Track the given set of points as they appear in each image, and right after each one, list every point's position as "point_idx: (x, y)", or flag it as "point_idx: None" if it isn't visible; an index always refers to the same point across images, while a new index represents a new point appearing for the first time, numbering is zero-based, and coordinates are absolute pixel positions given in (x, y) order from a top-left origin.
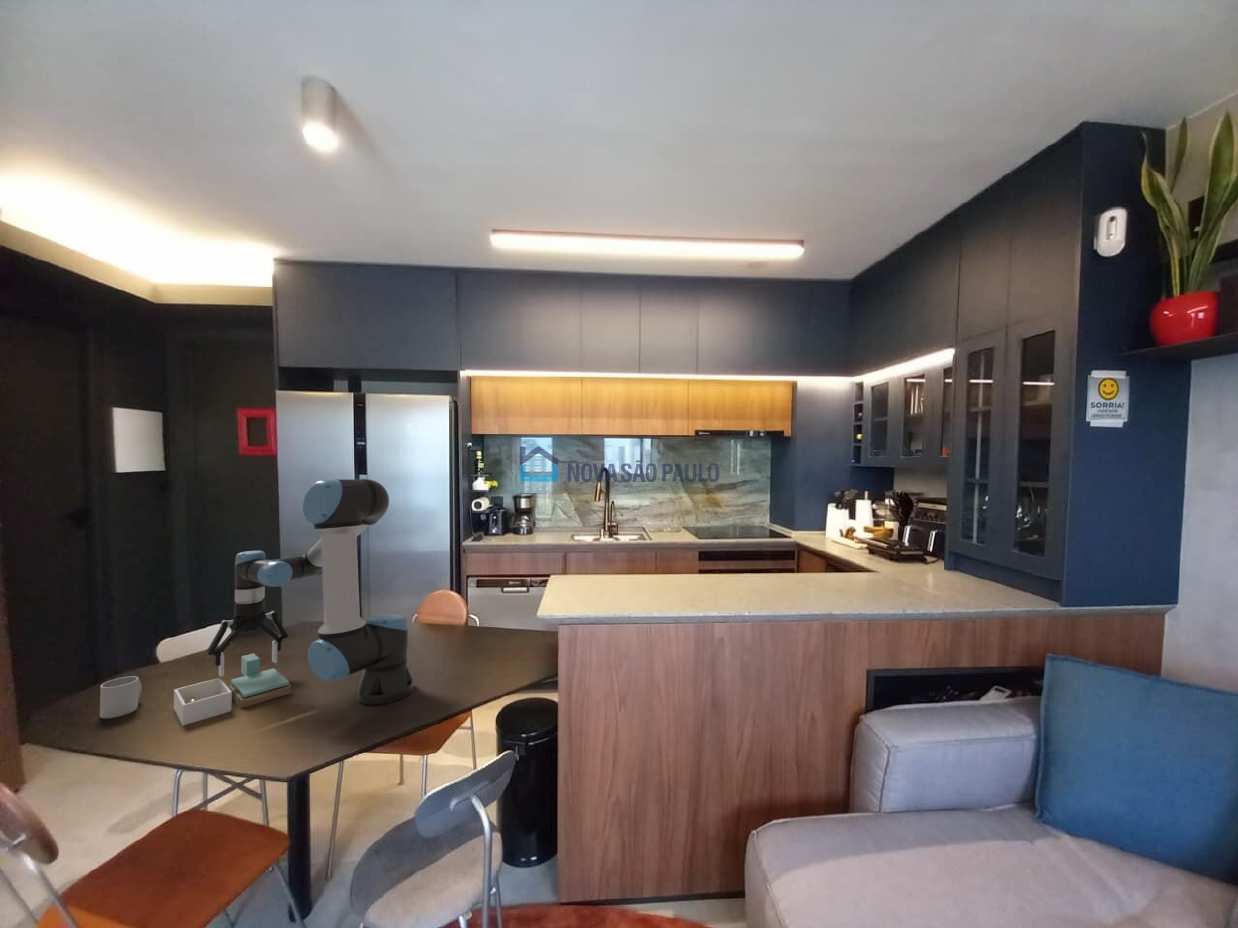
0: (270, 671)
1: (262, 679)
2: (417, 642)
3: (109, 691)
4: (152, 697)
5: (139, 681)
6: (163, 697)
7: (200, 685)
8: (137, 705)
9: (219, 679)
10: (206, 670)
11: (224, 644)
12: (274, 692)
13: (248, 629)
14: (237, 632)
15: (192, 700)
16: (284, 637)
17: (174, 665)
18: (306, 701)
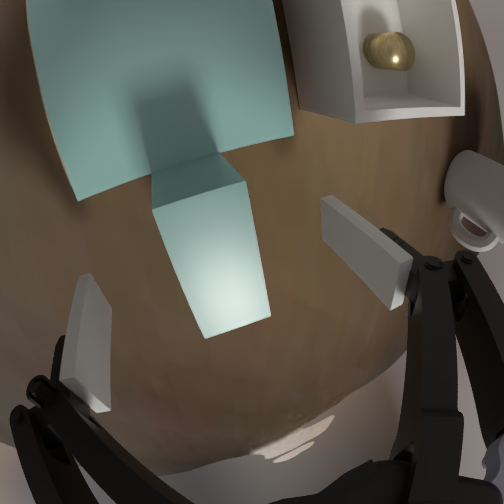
0: (90, 150)
1: (134, 22)
2: None
3: None
4: (413, 246)
5: (480, 244)
6: (403, 232)
7: (408, 105)
8: (454, 180)
9: (360, 94)
10: (303, 366)
11: (449, 315)
12: None
13: (342, 495)
14: (446, 426)
15: (403, 42)
16: (24, 409)
17: (339, 392)
18: None
